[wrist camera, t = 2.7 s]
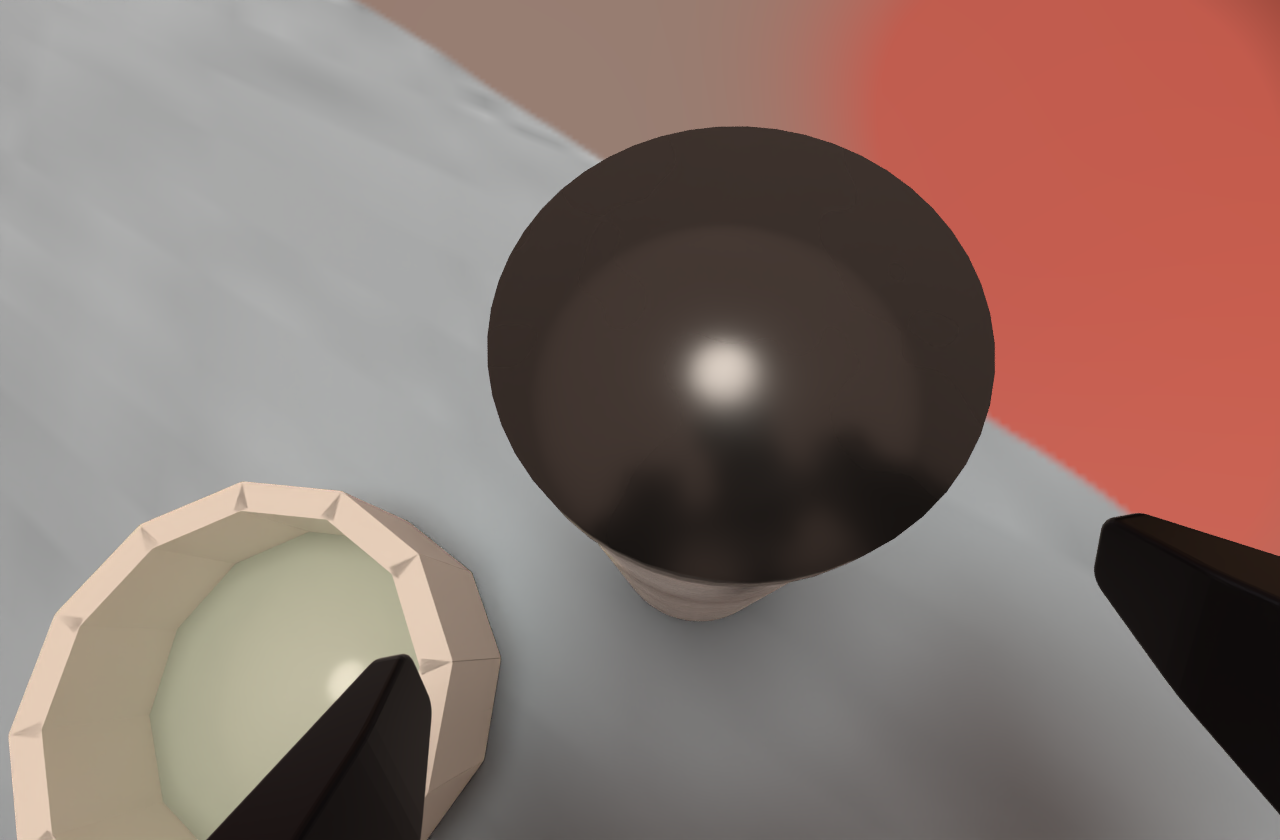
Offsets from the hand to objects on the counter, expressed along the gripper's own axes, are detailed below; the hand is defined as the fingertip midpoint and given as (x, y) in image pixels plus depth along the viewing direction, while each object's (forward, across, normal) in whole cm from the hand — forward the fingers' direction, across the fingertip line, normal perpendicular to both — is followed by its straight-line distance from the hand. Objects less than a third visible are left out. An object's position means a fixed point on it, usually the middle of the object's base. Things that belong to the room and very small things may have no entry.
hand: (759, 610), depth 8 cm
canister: (+9, 0, +5) cm, 10 cm away
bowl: (+7, +11, +7) cm, 15 cm away
